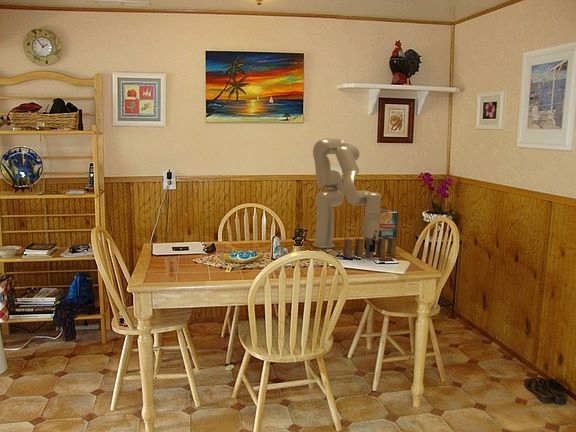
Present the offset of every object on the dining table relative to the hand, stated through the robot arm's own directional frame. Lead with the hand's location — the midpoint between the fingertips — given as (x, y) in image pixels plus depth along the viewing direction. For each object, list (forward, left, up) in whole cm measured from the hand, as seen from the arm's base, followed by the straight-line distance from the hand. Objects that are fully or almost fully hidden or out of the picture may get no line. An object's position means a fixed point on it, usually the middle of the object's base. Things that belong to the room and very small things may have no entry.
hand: (369, 250), depth 290 cm
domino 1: (0, -13, -4) cm, 14 cm away
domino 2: (0, -6, -4) cm, 8 cm away
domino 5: (0, +13, -4) cm, 14 cm away
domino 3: (0, 0, -3) cm, 3 cm away
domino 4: (0, +7, -4) cm, 8 cm away
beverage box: (-13, +16, -4) cm, 21 cm away
